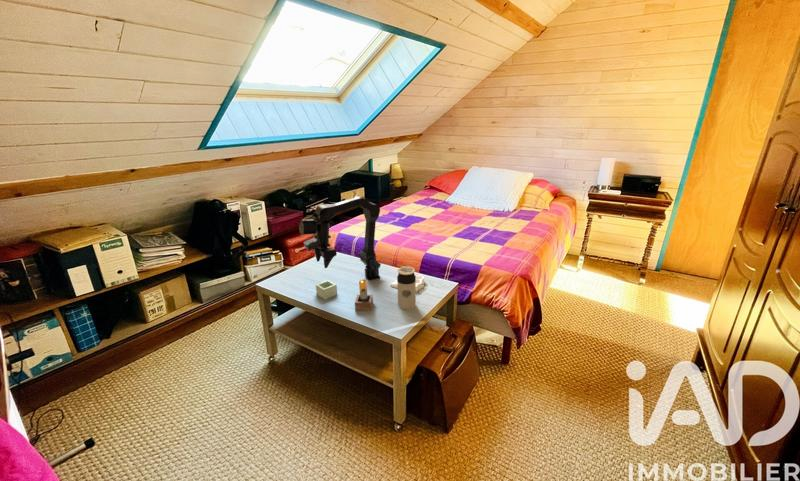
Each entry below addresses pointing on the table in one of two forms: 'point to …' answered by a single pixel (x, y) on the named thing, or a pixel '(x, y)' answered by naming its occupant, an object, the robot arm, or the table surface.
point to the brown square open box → (364, 304)
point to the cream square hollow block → (326, 289)
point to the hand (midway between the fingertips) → (321, 264)
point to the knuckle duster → (418, 282)
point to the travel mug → (406, 288)
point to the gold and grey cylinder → (363, 291)
